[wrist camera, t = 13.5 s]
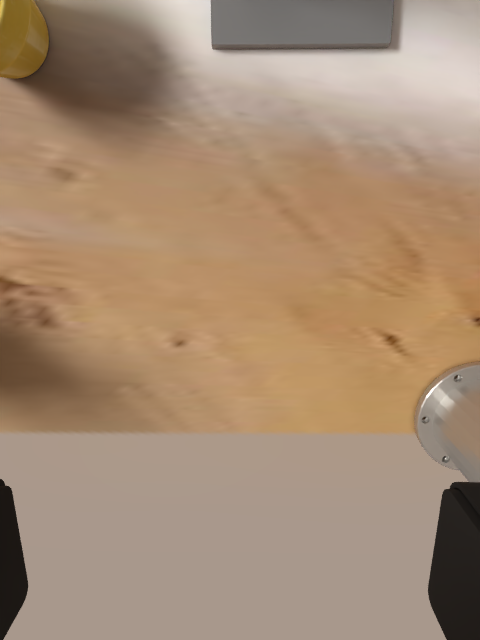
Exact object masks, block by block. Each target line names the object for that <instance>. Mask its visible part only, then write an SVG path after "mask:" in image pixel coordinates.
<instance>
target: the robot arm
mask: <svg viewBox="0 0 480 640" xmlns="http://www.w3.org/2000/svg"><path fill="white" fill-rule="evenodd" d="M414 420H415V431H416V435H417V438H418V440H419V442H420V444H421V446H422V447H423V448H424V450H425V451H426V452H427V454H429V456H430V457H432V458H433V459H434V460H435V461H436V462H438V463H439V464H441V465H443V466H445V467H448V468H451V469H454V470H460V471H461V473H462V474H463V475H464V476H465V478H466V479H467V480H468V481H469V482H454V483H452V485H451V486H450V489H446V490H444V492H443V494H442V500H441V507H440V514H439V520H438V526H437V533H436V539H435V546H434V552H433V559H432V566H431V572H430V579H429V585H428V595H429V600H430V603H431V606H432V609H433V611H434V613H435V615H436V618H437V620H438V622H439V624H440V626H441V628H442V631H443V633H444V635H445V637H446V639H447V640H480V362H472V363H466V364H463V365H460V366H457V367H454V368H452V369H450V370H448V371H446V372H445V373H443V374H442V375H440V376H439V377H438V378H436V379H435V380H434V381H433V382H432V383H431V384H430V385H429V386H428V387H427V389H426V390H425V391H424V393H423V395H422V396H421V398H420V400H419V403H418V405H417V408H416V412H415V418H414ZM27 591H28V580H27V574H26V568H25V563H24V557H23V551H22V545H21V540H20V534H19V529H18V523H17V517H16V511H15V506H14V500H13V494H12V490H11V488H10V487H9V486H5V483H4V481H3V480H2V479H0V640H3V639H4V637H5V635H6V634H7V632H8V630H9V628H10V626H11V624H12V623H13V621H14V619H15V617H16V616H17V614H18V612H19V610H20V608H21V607H22V605H23V603H24V601H25V598H26V595H27Z"/></svg>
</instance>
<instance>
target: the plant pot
mask: <svg viewBox="0 0 480 640" xmlns="http://www.w3.org/2000/svg"><path fill="white" fill-rule="evenodd" d="M48 46H49V34H48V29H47V25H46V22H45V19H44V17H43V15H42V13H41V12H40V10H39V8H38V7H37V5H36V4H35V2H34V0H0V77H4V78H23V77H27V76H29V75H31V74H32V73H34V72H35V71H36V70H38V68H39V67H40V66H41V65H42V63H43V62H44V60H45V58H46V55H47V52H48Z"/></svg>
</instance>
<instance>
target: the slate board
mask: <svg viewBox="0 0 480 640" xmlns="http://www.w3.org/2000/svg"><path fill="white" fill-rule="evenodd" d="M393 7H394V0H211V36H212V48H213V49H255V48H387V47H388V45H389V44H390V42H391V30H392V19H393Z"/></svg>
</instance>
